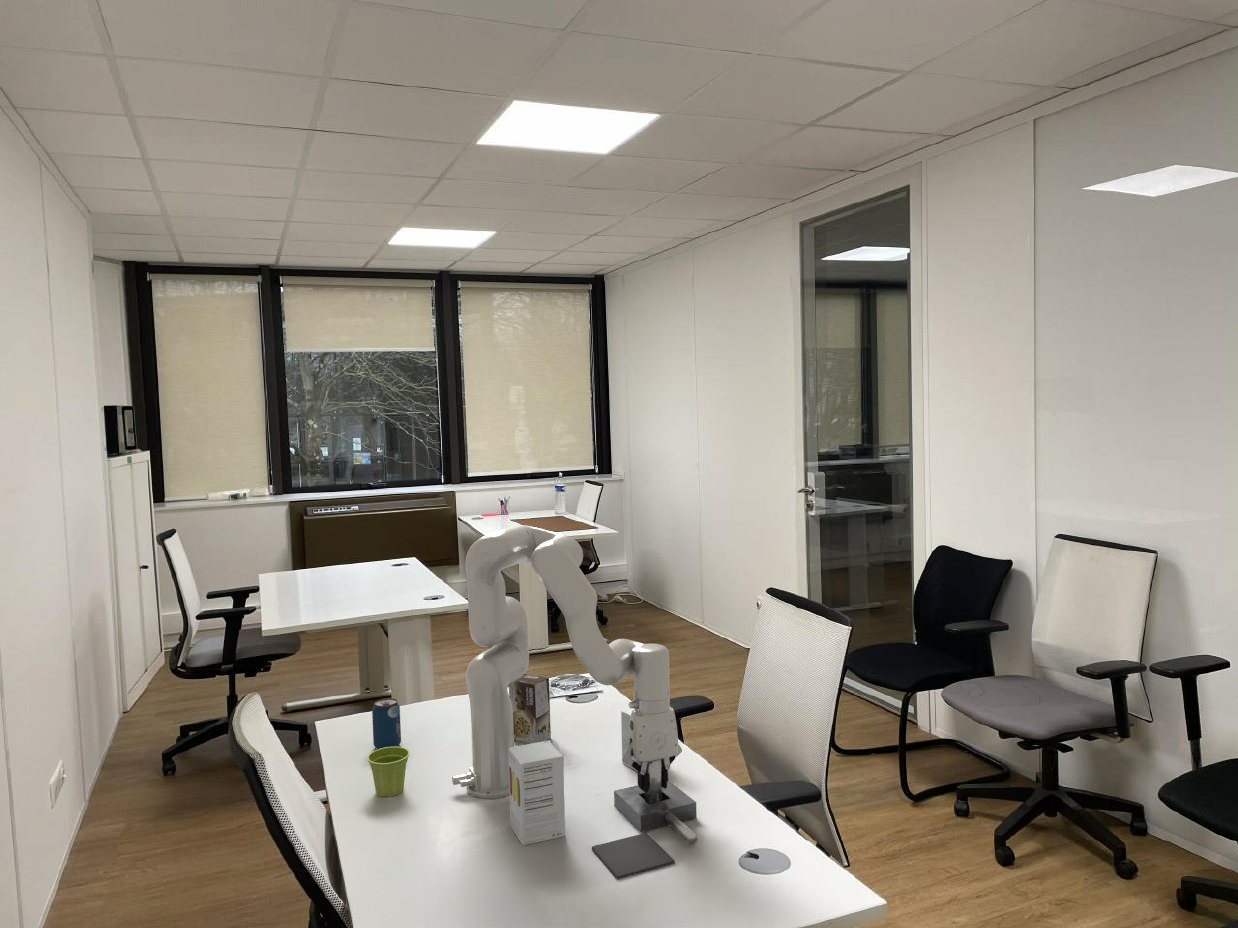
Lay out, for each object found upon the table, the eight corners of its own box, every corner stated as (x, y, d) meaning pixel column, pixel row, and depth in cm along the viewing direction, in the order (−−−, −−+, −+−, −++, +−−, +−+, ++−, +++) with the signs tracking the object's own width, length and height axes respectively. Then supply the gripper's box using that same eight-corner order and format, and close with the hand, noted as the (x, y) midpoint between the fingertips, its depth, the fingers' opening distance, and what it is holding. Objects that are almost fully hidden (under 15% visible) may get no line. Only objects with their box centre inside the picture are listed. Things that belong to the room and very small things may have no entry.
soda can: (405, 748, 219) (403, 702, 219) (378, 754, 216) (376, 708, 215) (395, 739, 225) (394, 695, 224) (370, 746, 221) (368, 700, 221)
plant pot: (419, 790, 194) (417, 753, 194) (382, 804, 188) (381, 766, 187) (396, 778, 201) (395, 743, 200) (360, 792, 194) (359, 755, 193)
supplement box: (509, 825, 177) (506, 746, 176) (551, 816, 181) (549, 738, 179) (522, 846, 168) (520, 763, 167) (566, 836, 172) (564, 755, 171)
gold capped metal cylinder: (640, 802, 182) (639, 742, 181) (657, 798, 184) (656, 738, 183) (649, 810, 178) (648, 749, 177) (666, 806, 180) (666, 745, 179)
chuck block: (663, 855, 163) (663, 837, 163) (614, 806, 184) (614, 790, 184) (721, 839, 169) (721, 822, 169) (667, 793, 190) (667, 778, 190)
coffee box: (552, 737, 224) (550, 677, 223) (537, 745, 219) (535, 684, 218) (524, 731, 229) (523, 672, 228) (509, 739, 224) (507, 679, 223)
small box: (636, 771, 202) (635, 718, 201) (621, 762, 207) (620, 710, 206) (663, 763, 206) (662, 710, 205) (648, 754, 212) (647, 703, 211)
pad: (617, 879, 155) (617, 876, 155) (591, 849, 166) (591, 846, 166) (674, 863, 160) (674, 860, 160) (646, 835, 171) (646, 832, 171)
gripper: (623, 715, 173) (625, 803, 174) (695, 702, 180) (695, 787, 181) (608, 704, 180) (610, 788, 181) (678, 692, 187) (678, 773, 188)
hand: (653, 786), depth 181 cm, fingers closed on gold capped metal cylinder, 3 cm apart
